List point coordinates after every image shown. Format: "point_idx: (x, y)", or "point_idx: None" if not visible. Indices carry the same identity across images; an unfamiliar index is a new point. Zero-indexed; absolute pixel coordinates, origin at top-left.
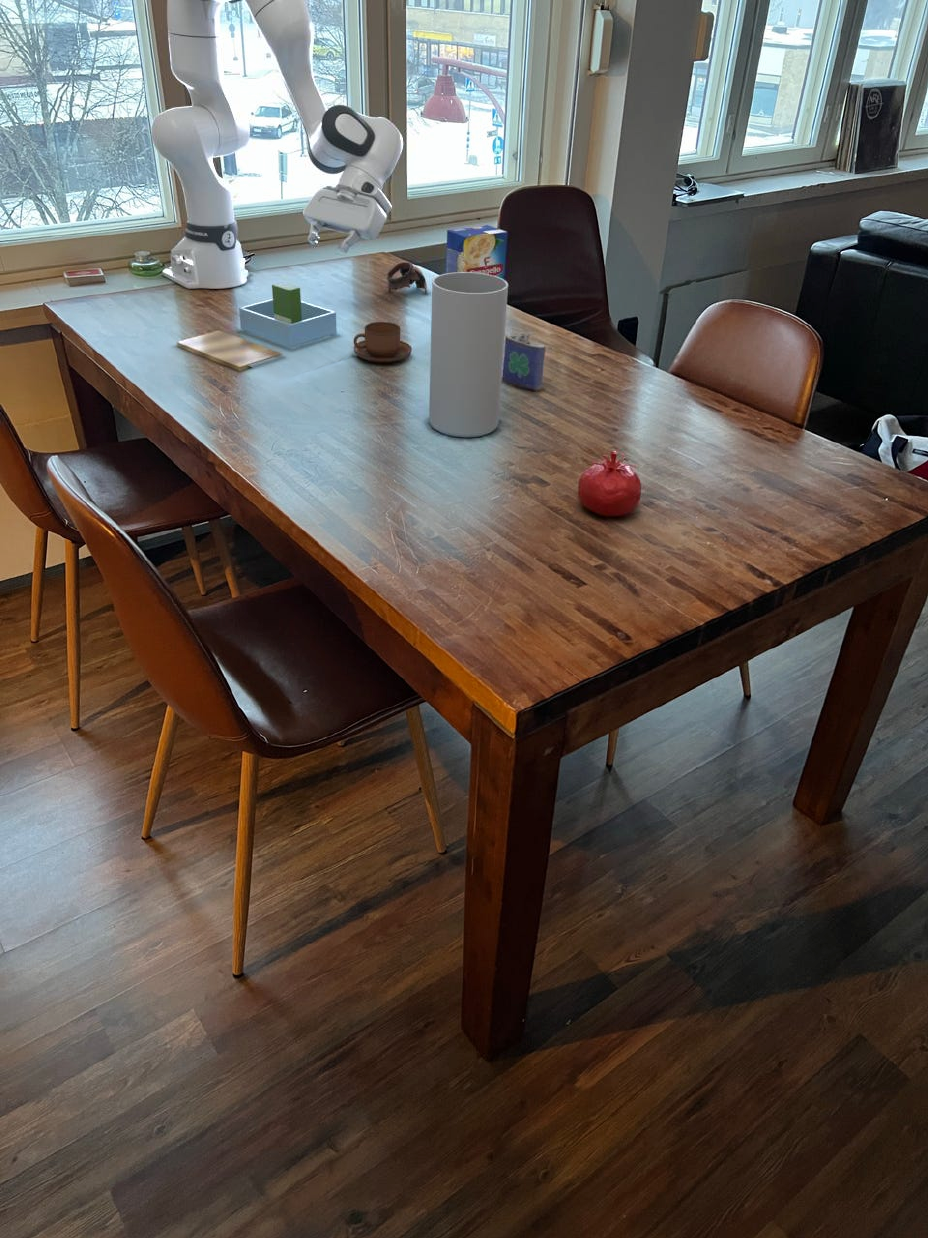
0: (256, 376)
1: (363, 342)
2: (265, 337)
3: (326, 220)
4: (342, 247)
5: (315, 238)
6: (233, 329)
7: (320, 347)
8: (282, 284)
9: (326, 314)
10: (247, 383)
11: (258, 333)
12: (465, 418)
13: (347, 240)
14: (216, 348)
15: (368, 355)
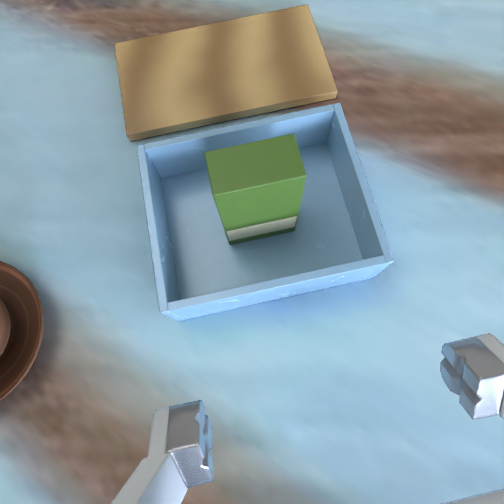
0: (78, 64)
1: (40, 320)
2: None
3: (489, 495)
4: (156, 410)
5: (465, 381)
6: (357, 136)
7: (135, 242)
8: (279, 163)
9: (156, 274)
10: (61, 40)
11: None
12: None
13: (136, 468)
14: (230, 46)
15: (4, 303)
